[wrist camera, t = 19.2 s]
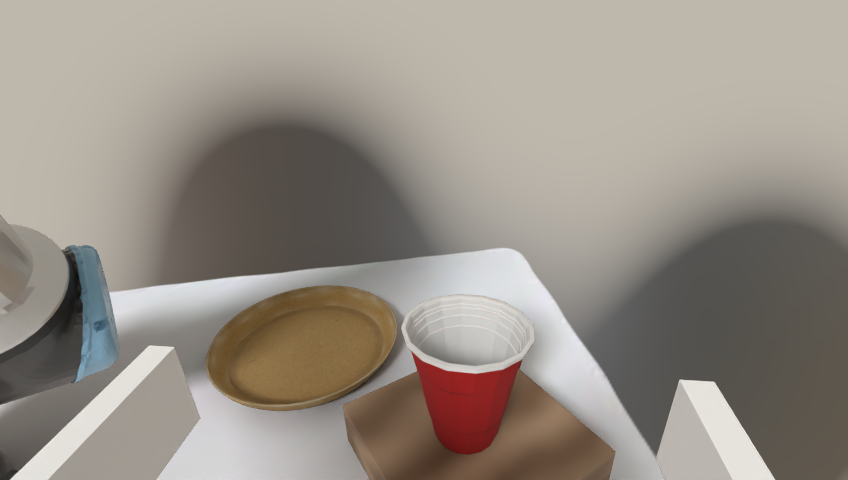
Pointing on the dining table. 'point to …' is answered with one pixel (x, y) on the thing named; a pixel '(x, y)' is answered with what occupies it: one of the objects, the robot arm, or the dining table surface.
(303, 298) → the plant saucer
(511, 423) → the walnut podium
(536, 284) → the dining table surface
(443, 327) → the plastic cup
